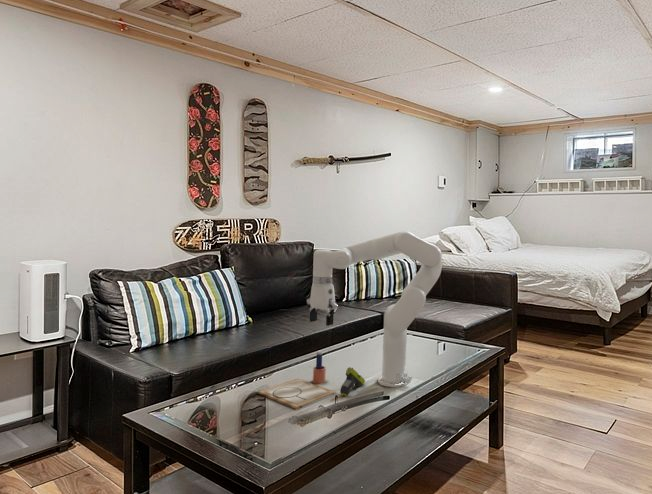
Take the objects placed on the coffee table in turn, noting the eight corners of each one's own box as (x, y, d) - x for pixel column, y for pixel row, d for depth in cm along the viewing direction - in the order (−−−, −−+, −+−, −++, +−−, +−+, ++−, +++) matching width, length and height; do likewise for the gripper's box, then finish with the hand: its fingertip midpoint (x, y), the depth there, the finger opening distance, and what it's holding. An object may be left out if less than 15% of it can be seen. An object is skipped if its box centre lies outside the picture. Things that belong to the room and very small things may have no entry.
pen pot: (327, 382, 198) (328, 367, 198) (318, 385, 194) (318, 370, 194) (319, 379, 201) (320, 365, 201) (310, 382, 197) (310, 367, 197)
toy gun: (357, 404, 191) (366, 379, 197) (343, 393, 180) (352, 366, 186) (352, 403, 192) (360, 378, 198) (337, 392, 181) (347, 365, 187)
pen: (322, 381, 198) (323, 351, 197) (318, 382, 196) (319, 352, 196) (318, 379, 199) (319, 350, 199) (314, 381, 197) (315, 351, 197)
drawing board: (335, 394, 186) (335, 391, 186) (296, 409, 171) (296, 406, 171) (297, 380, 199) (298, 378, 199) (258, 393, 184) (258, 390, 184)
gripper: (344, 282, 195) (343, 325, 195) (315, 277, 205) (314, 318, 205) (330, 284, 189) (328, 328, 189) (300, 279, 199) (299, 321, 199)
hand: (321, 323), depth 197 cm, fingers open, 9 cm apart
